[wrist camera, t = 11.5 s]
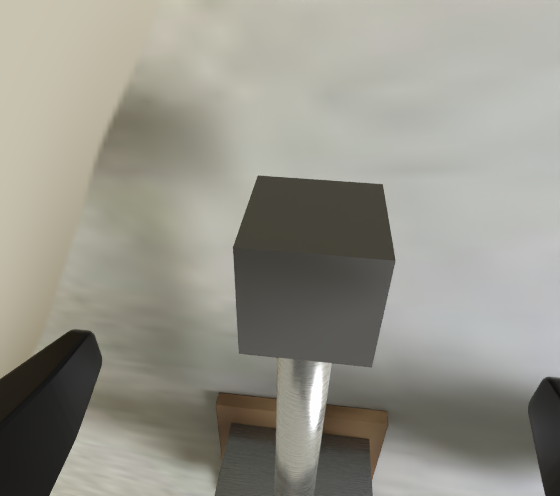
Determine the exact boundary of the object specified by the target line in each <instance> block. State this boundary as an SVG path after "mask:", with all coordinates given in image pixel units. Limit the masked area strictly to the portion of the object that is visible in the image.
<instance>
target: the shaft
mask: <svg viewBox="0 0 560 496" xmlns="http://www.w3.org/2000/svg"><path fill="white" fill-rule="evenodd" d="M233 254H234V272H235V290H236V309H237V327H238V345H239V354H248V355H258V356H267V357H277V358H278V371H277V411H276V450H275V490H274V496H314V489H315V481H316V474H317V467H318V460H319V452H320V445H321V438H322V431H323V424H324V416H325V409H326V402H327V395H328V387H329V380H330V373H331V366H332V363H335V364H344V365H354V366H364V367H372V363H373V359H374V354H375V350H376V345H377V341H378V337H379V332H380V328H381V323H382V319H383V314H384V310H385V305H386V301H387V296H388V292H389V287H390V283H391V278H392V274H393V269H394V265H395V255H394V249H393V243H392V237H391V231H390V225H389V219H388V213H387V207H386V201H385V195H384V189H383V184H370V183H356V182H342V181H327V180H313V179H299V178H284V177H270V176H258V177H257V180H256V183H255V186H254V188H253V191H252V194H251V197H250V200H249V203H248V206H247V209H246V212H245V214H244V217H243V220H242V223H241V226H240V229H239V232H238V235H237V238H236V240H235V243H234V246H233Z"/></svg>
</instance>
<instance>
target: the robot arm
mask: <svg viewBox="0 0 560 496" xmlns="http://www.w3.org/2000/svg"><path fill="white" fill-rule="evenodd" d="M101 365H102V356H101V353H100V350H99V347H98V344H97V341H96V338H95V335H94V333H92V332H91V331H87V330H77V329H75V330H71V331H69V332H67V333H66V334H64V335H63V336H61V337H60V338H59V339H57V340H56V341H54V342H53V343H51V344H50V345H48V346H47V347H46V348H44V349H43V350H41V351H40V352H38V353H37V354H36V355H34V356H33V357H31V358H30V359H28V360H27V361H26V362H24V363H23V364H21V365H20V366H18V367H17V368H16V369H14V370H13V371H11V372H10V373H8V374H7V375H5V376H4V377H2V378H1V379H0V496H49V495H50V493H51V491H52V489H53V486H54V484H55V482H56V480H57V478H58V476H59V474H60V472H61V469H62V467H63V465H64V463H65V461H66V459H67V457H68V455H69V452H70V450H71V448H72V446H73V444H74V441H75V439H76V437H77V434H78V432H79V429H80V426H81V424H82V421H83V418H84V415H85V412H86V409H87V406H88V403H89V401H90V398H91V395H92V392H93V389H94V386H95V383H96V381H97V378H98V375H99V372H100V369H101ZM528 413H529V418H530V423H531V428H532V433H533V438H534V443H535V448H536V453H537V458H538V463H539V468H540V473H541V478H542V483H543V487H544V491H545V495H546V496H560V378H556V377H546V378H544V379H543V380H542V381H541V383H540V385H539V386H538V388H537V390H536V391H535V393H534V395H533V396H532V398H531V400H530V402H529V406H528Z"/></svg>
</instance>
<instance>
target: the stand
mask: <svg viewBox="0 0 560 496" xmlns="http://www.w3.org/2000/svg"><path fill="white" fill-rule="evenodd" d="M216 410H217V419H218V428H219V437H220V445H221V454H222V466H221V470H220V474H219V479H218V483H217V488H216V492H215V496H274V490H275V450H276V411H277V399H270V398H261V397H252V396H243V395H234V394H225V393H219V395H218V399H217V403H216ZM387 427H388V417H387V411H378V410H369V409H360V408H351V407H342V406H333V405H326V409H325V416H324V424H323V431H322V438H321V445H320V452H319V460H318V467H317V474H316V481H315V489H314V496H373V495H372V478H373V475H374V471H375V468H376V465H377V461H378V458H379V454H380V451H381V448H382V444H383V441H384V437H385V434H386V431H387Z"/></svg>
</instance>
